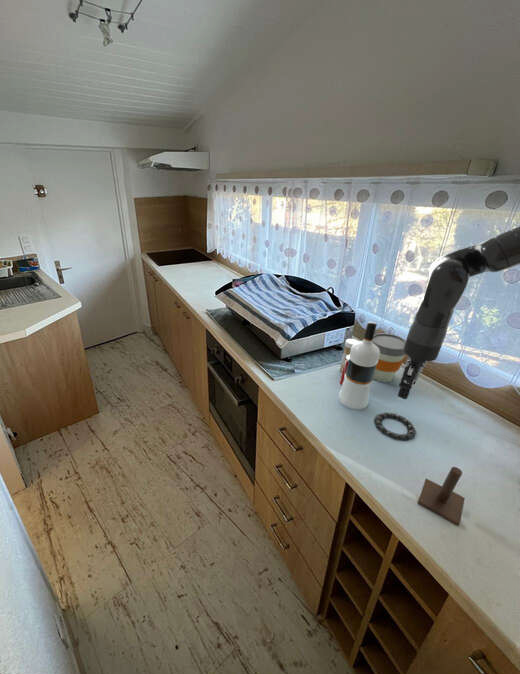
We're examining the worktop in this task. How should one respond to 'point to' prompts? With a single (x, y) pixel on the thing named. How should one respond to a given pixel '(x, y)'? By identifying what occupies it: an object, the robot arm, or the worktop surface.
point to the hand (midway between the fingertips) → (406, 390)
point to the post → (443, 497)
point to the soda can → (344, 370)
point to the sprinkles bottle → (347, 350)
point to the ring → (382, 429)
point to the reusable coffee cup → (388, 355)
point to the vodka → (360, 371)
